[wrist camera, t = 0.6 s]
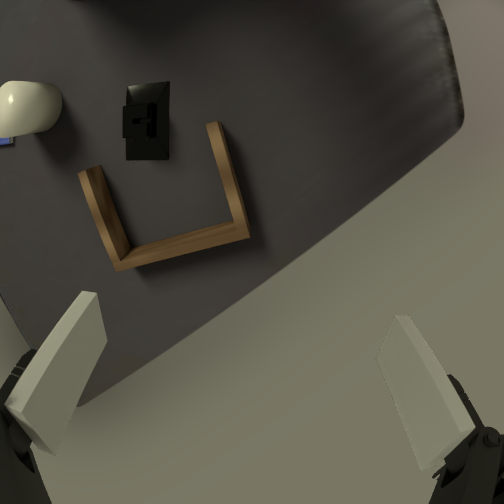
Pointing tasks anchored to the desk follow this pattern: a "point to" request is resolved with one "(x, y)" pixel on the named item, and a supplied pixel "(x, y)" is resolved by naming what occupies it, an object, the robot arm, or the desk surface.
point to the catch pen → (171, 246)
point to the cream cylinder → (28, 107)
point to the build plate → (147, 121)
